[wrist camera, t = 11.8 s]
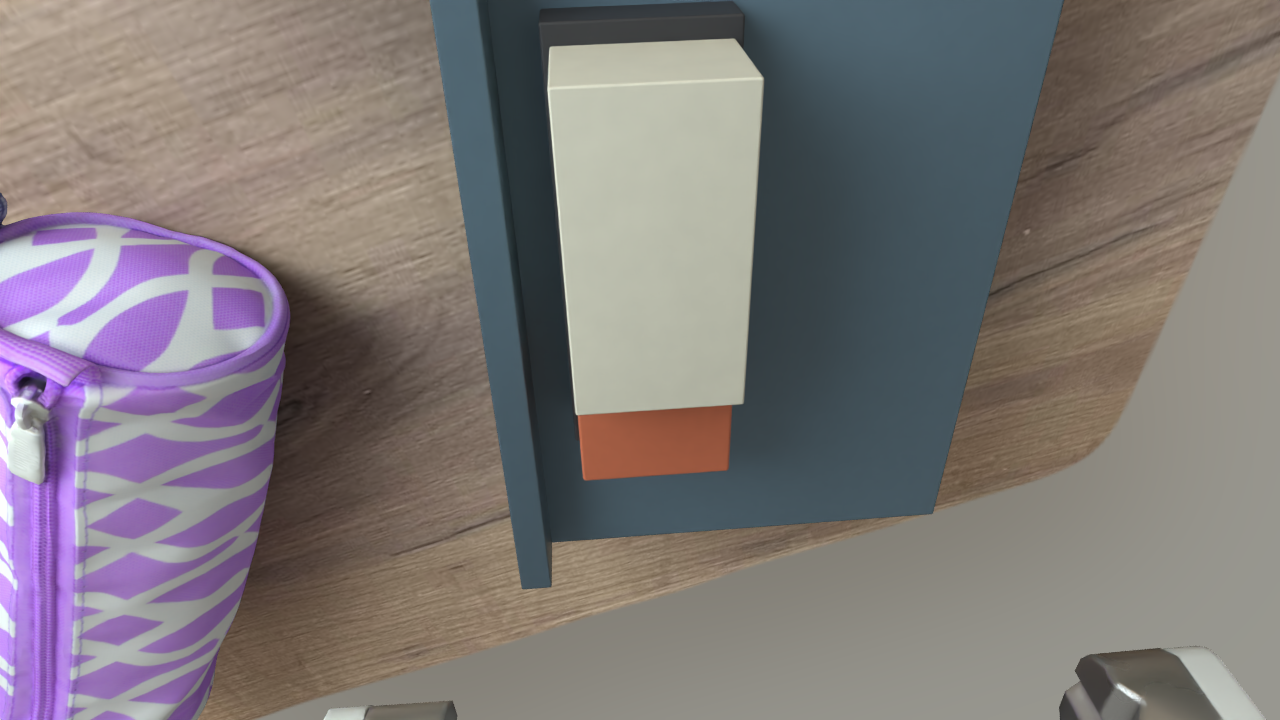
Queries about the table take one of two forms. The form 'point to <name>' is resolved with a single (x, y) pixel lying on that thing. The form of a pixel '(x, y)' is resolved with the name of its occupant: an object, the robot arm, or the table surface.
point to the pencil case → (128, 460)
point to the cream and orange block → (653, 226)
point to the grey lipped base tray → (769, 258)
